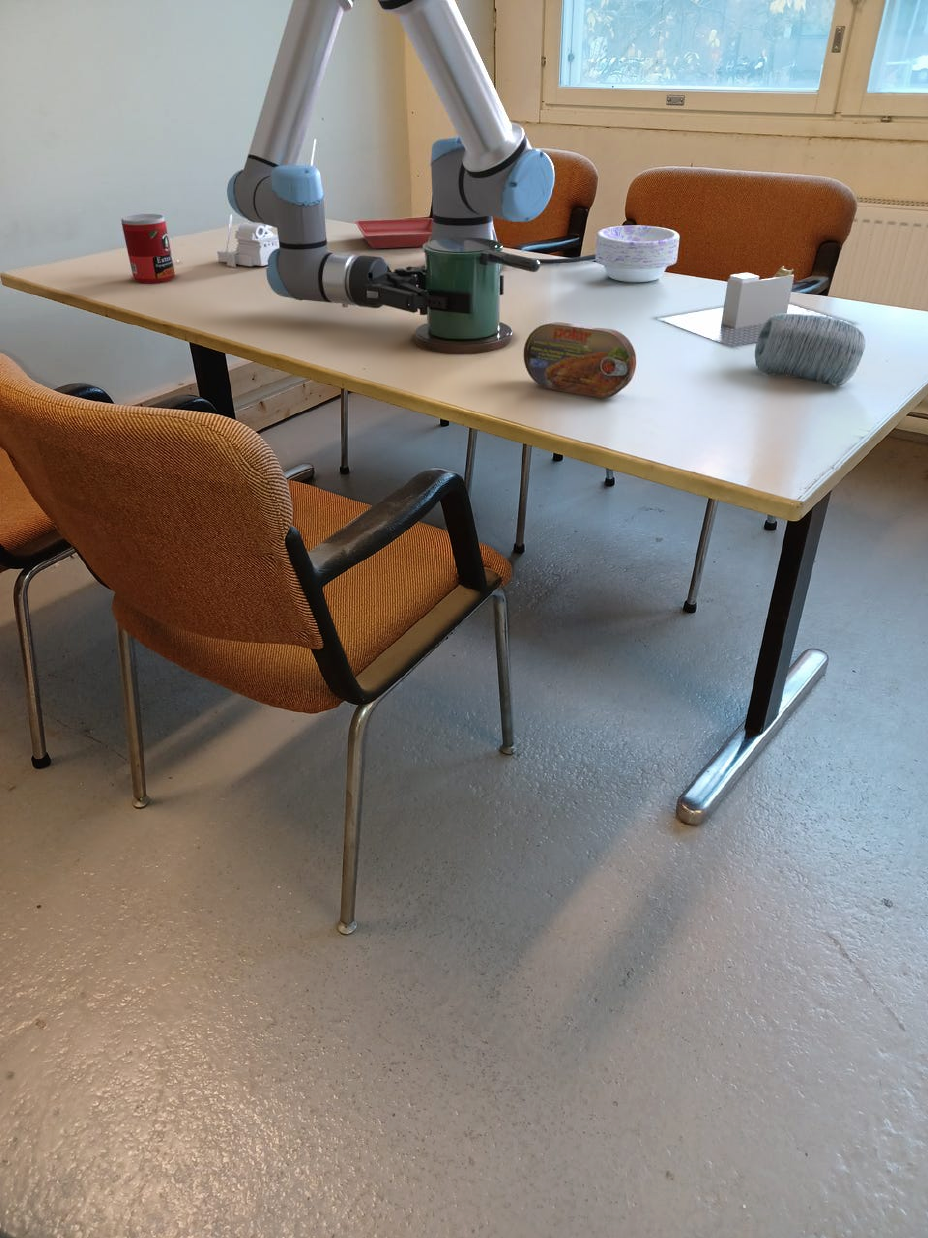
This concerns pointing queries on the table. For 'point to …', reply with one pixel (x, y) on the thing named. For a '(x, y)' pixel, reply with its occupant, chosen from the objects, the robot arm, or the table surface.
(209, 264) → the table surface
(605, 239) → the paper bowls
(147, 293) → the table surface
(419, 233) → the plant saucer
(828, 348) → the spool
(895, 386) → the table surface
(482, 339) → the turntable
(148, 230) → the canned food
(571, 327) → the tin
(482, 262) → the pot
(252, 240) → the wifi router
